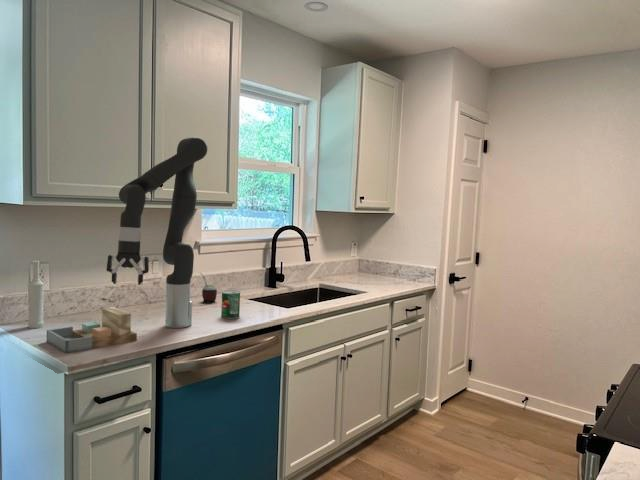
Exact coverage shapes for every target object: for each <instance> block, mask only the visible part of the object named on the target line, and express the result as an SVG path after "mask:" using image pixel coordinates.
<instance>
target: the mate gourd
mask: <svg viewBox="0 0 640 480" xmlns="http://www.w3.org/2000/svg"><path fill="white" fill-rule="evenodd" d="M199 274H200V275H201V276H202V278H203V280H204V286H203V287H202V290H201V293H202V298H203V300H202V302H203V303H206V304H210V303H214V304H215V303H216V302H217V301H216V299H217V294H218V290H217V288H216V286H215V285H212V284H207V281H206V277H205V275H204V274H202V272H199Z"/></svg>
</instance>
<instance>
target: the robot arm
mask: <svg viewBox="0 0 640 480" xmlns="http://www.w3.org/2000/svg"><path fill="white" fill-rule="evenodd" d="M207 154H208V145H207V142H206V141H205V140H204V139H203V138H201V137H196V136H194V137H186V138H183V139H181V140H180V141H179V143H178V144H177V148H176V154H174V155H173V156H171V157H169V158H167V159H165V160H163V161H161V162H160V163H158V164H156V165H154V166H153V167H151V168H149V170H147V171H146V172H144V173H143V174H142V175H140V176H139V177H137V178H135V179H133V180H131V181H130V182H128V183H126V184H124V186H122V187H121V188H120V190H119V192H118V198H119V200H120V201H121V202H122V203H123V204H125V209H124V211H122V212H121V214H120V219H119V221H120V222H119V231H118V243H117V245H118V246H117V254H116V255H115V254H114V255H113V254H109V255H107V263H106V269H105V271H106V272H109V273H111V282H112V284H114V285H117V282H118V281H117V277H118V273H117V272H118V270H119V269H121V268H130V269H133V268H134V269H135V270H136V271H137V273H138V280H137V284H138V285H141V284H143V283H144V275H145V274H147V273H149V269H150V267H149V266H150V261H149V259H150V258H149V255H148V256H141V255H140V254H141V243H142V242H141V240H142V239H141V238H142V231H141V227H142V225H141V224H142V214H143V212H144V209H145V206H146V197H147V196H146V194H148V193H151V192H154V191H155V190H157V189H158V188H159V187H161V186H162V185H164V184H165V183H166V182H168V181H169V180H170V179H171V178H173V177H174V176H175V178H174V186H173V191H172V198H171V205H170V206H171V207H170V208H171V209H170V213H169V214H170V215H169V220H168V221H169V223H168V228H167V232H166V237H165V240H164V244H163V247H162V249H163V250H162V258H163V261H164V262H165V264H167V265H171V266H173V272H172V273H170V274H168V275H167V276H166V279H165V280H166V282H165V283H166V284H165V319H164V320H165V327H166V328H170V329H182V328H187V327H189V326H192V324H193V323H192V318H193V317H192V316H193V314H192V313H193V301H191V280H192V276H193V274H194V262H195V261H194V259H195V254H194V249H193V246H191V245H190V244H188V243H185V242H183V236H184V231H185V229H186V227H187V225H188V224H189V222H190V221H191V219H192V217H193V216H194V214H195V211H196V206H197V197H198V195H197V194H198V193H197V188H196V183H195V182H194V169H195V168H194V167H195V163H196V162H198V161H201V160H202V159H204V158H205V157H206V156H207ZM115 260H116V261H117V262H118V263H117V265H115V267H114V268H112V266H113V262H115ZM140 261H141V262H142V263H144V268H143V269H142V267H141V266H140V264H139V262H140Z"/></svg>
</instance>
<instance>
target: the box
mask: <svg viewBox="0 0 640 480" xmlns="http://www.w3.org/2000/svg"><path fill="white" fill-rule="evenodd" d="M73 330H74V328H73V326H67V327H59V328H53V329H46V342H47V343H48V344H50V345H52V346H53V347H55V348H57V349H58V350H60V351H61V352H63V353H65V354H70V353H75V352H79V351H80V352H81V351H86V350H91V349H93V348H92V336H89V337H83V338H75V337H73Z"/></svg>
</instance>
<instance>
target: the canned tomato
mask: <svg viewBox="0 0 640 480" xmlns="http://www.w3.org/2000/svg"><path fill="white" fill-rule="evenodd" d="M240 303H241V291H240V290H234V289H233V290H232V289H231V290H229V289H228V290H223V291H221V313H220V315H221V316H220V318H223V319H229V320H230V319H231V320H232V319H238V318H240V309H241V307H240V306H241V305H240Z"/></svg>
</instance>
